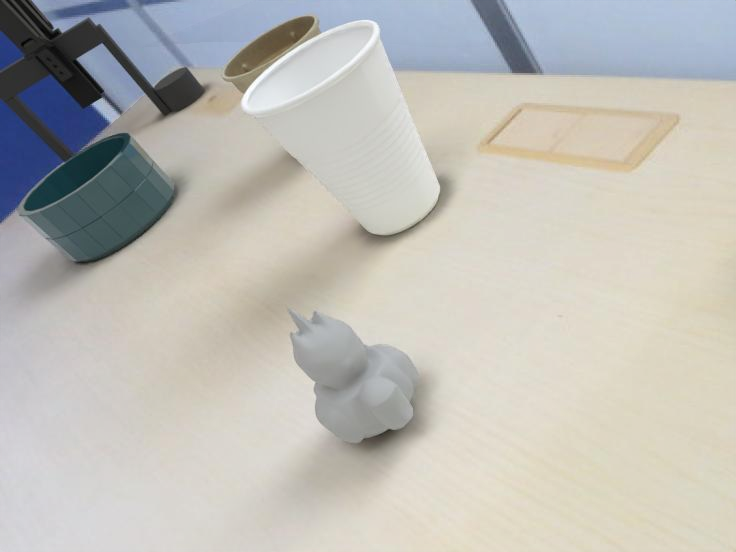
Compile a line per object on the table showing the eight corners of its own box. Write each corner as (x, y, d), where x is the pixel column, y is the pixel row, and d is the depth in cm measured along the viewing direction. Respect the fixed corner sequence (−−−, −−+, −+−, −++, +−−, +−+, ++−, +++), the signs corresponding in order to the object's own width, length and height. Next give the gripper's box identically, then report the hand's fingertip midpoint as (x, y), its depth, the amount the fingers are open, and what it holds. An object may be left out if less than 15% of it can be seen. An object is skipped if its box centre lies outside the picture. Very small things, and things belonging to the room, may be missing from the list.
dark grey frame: (68, 179, 94) (-24, 89, 85) (72, 165, 97) (-16, 77, 88) (205, 96, 94) (127, -2, 85) (204, 85, 97) (129, -11, 88)
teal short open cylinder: (50, 274, 74) (-7, 225, 70) (121, 197, 81) (73, 148, 76) (131, 255, 69) (75, 201, 65) (199, 174, 76) (153, 121, 71)
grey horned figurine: (397, 367, 42) (307, 257, 36) (463, 404, 38) (373, 287, 32) (327, 435, 41) (221, 332, 35) (388, 482, 37) (279, 373, 31)
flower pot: (351, 157, 64) (284, 59, 58) (271, 178, 68) (200, 88, 61) (392, 97, 69) (334, 1, 63) (315, 120, 73) (254, 32, 67)
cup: (401, 168, 59) (312, 28, 51) (491, 166, 53) (407, 9, 45) (321, 253, 55) (211, 116, 47) (410, 261, 49) (302, 107, 41)
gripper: (-94, -134, 69) (115, 101, 86) (-57, -144, 80) (123, 68, 97) (-163, -92, 69) (60, 134, 86) (-117, -108, 80) (74, 98, 97)
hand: (93, 99), depth 92 cm, fingers closed on dark grey frame, 2 cm apart
